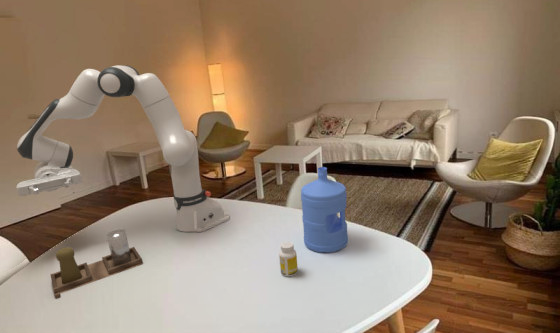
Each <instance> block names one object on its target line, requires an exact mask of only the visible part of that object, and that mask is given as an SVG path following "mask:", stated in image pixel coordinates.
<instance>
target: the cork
mask: <svg viewBox="0 0 560 333" xmlns="http://www.w3.org/2000/svg"><path fill="white" fill-rule="evenodd" d="M74 256H75V250H74V248H72V247H71V246H69V247H68V246H67V247H62V248H60V249H59V250H57V251H56V252H55V257H56V260H57V261H59V268H60V269H59V271H61V279H62V284H67V283H69V282H72V281H75V280H78V279H81V278H82V274H81V272H80V270H79V268H78V266H77V265H78V263H77V262H76V259H75V257H74Z"/></svg>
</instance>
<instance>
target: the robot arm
mask: <svg viewBox="0 0 560 333" xmlns="http://www.w3.org/2000/svg"><path fill="white" fill-rule="evenodd" d="M105 96H107V97H111V98H122V97H124V98H125V97H130V96H134V97H135V98H136V99H137V100H138V102H139V104H140V106H141V107H142V109H143V112H145V113H144V114H145V115H146V117H147V118H148V120H149V122H150V124H151V126H152V128H153V130H154V133H155V135H156V138H157V142H158V144H159V147H160V148H161V151H162V157H163V159H164V161H165V162H166V163H167V164H168V165H170V167H171V176H170V177H171V184H172V189H173V203H174V207H175V210H176V220H175V222H176V224H175V229H176V230H177V231H179V232H184V233H186V232H198V233H202V232H204V231H206V230H209V229H211V228H213V227H215V226H218V225H220V224H222V223H225V222H227V221H229V220H230V218H231V217H230V214H229V212H227V211H226V210H224V209H223V207H222V205H221V204H220V203H219V202H218V201H217V200H215V199H213V198H210V197H211V196H212V193H211V191H208V190H206V189H203V188H202V184H201V176H200V163H199V152H198V151H199V150H198V141H197V138H196V136H195V134H194V133H193V132H192V131H190V130H187V129H185V127H184V124H183V122H182V119H181V114H180V112H179V111H178V108H177V107H176V105H175V103H174V101H173V99H172V98H171V95H170V93H169V92H168V90H167V89H166V86H165V85H164V84H163V82H162V80H160V78H158V76H157V75H156V74H155V73H153V72H152V73H151V72H146V73H143V74H142V73H141V74H140V73H139V71H138V70H137V69H135V67H134V66H133V67H132V66H131V65H128V64H127V65H123V64H122V65H119V64H117V65H113V66H108V67H106V68H104V69H102V71H99V70H97V69H94V68H86V69H84V70H83V71H81V73H79V75H78V76H77V78H76V79H75V80H74V83H73V84H72V86H71V87H70V89H69V91H68V93H66V94H65V95H64V96H63V97H61V98H55V99H53V100H52V101H51V102H50V103H49V104H47V106H46V108H44V110H43V112H41V114H40V115H39V116H38V118H37V119H36V120H35V121H34V122H33V124H32V125H31V127H30V128H29V129H28V130H27V131H26V132H25V133H24V134H23V135H22V136H21V137H20V138H19V139H18V142H17V144H16V145H17V146H16V150H17V152H18V154H19V155H20V156H21V157H22V158H23V159H26V160H27V159H29V160H33V161H37V162H39V163H38V164H37V165H36V166H35V168H34V172H33V176H34V178H33V179H27V180H23V181H20V182H19V183H17V185H16V187H15V189H16V191H17V195H18V197H26V196H30V195H33V194H34V195H38V194H40V193H42V192H53V191H56V190H58V189H61V188H70V187H71V186H73V185H77V184H81V183H82V182H83V178H82V174H81V171H79V170H77V169H76V168H74V167H73V166H72V162H73V159H74V151H73V148H72V146H71V145H70V144H69V143H65V142H63V141H59V140H56V139H54V138H50V137H48V136H44V135H43V134H44V132H45V131H46V129H48V127H49V126H50V124H51V123H52V122H53V121H55V120H63V119H65V120H84V119H89V118H91V117H93V116H94V114H95V113H96V112H97V111H98V109H99V107H100V106H101V104H102V101H103V99H104V97H105Z"/></svg>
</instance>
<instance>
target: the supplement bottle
mask: <svg viewBox="0 0 560 333" xmlns="http://www.w3.org/2000/svg"><path fill="white" fill-rule="evenodd" d="M278 256H279V266H280V268H279V269H280V273H281V274H280V275H282V276H283V275H284V277H286V276H291V277H294V276H296V275H297V274H298V272H299V269H298V256H297V250H295V246H294V243H293V242H291V241H285V242H282V243H281V244H280V250H279V253H278ZM293 275H294V276H293Z"/></svg>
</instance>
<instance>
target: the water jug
mask: <svg viewBox="0 0 560 333" xmlns="http://www.w3.org/2000/svg"><path fill="white" fill-rule="evenodd" d="M327 170H328V168H327V167H325V166H320V167H318V168H317V176H318V178H317V179H315V180H313V181H311V182H309V183H306V184H305V185H303V186H302V187H301V189H300V199H301V200H300V202H301V209H302V211H301V212H302V216H301V219H302V225H303V243H304V246H306V247H307V248H308V249H309V250H311V251H314V252H317V253H323V252H328V253H333V252H334V251H335V252H337V250H338V251H341V250H342V249H344V248H345V247H346V246H347V245H348V242H349V234H348V223H347V221H346V208H347V199H348V197H347V195H348V194H347V189H346V185H344V184H343V183H341V182H339V181H335V180H332V179H329V178H328V171H327ZM338 214H339V216H338Z"/></svg>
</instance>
